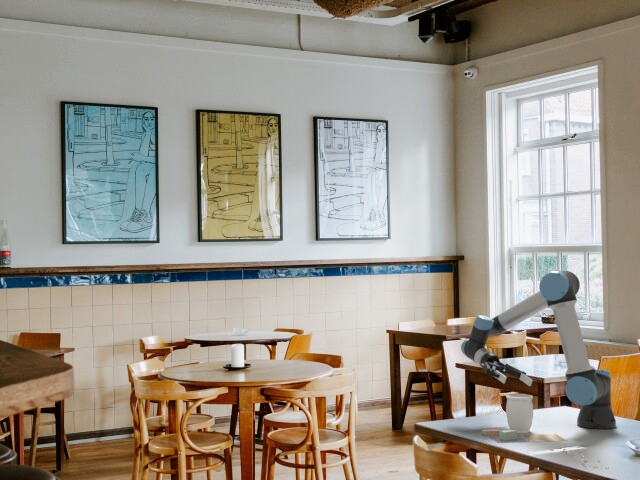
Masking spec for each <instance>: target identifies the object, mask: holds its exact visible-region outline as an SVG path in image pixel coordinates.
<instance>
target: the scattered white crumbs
mask: <svg viewBox="0 0 640 480" xmlns="http://www.w3.org/2000/svg"><path fill="white" fill-rule="evenodd" d="M578 451H580V457H581V458H583V459H582V460H583V461H582V460H581V461H579V463H580V465H582V466H584V467H585V468H587V467H591V465H590V464H588V465H587V464H585V463H589V461H587V458H588V457H589V455H587V454H586V453H585V454H582V450H581V449H579V450H578ZM563 453H565V454H567V455H568V454H569V455H570V456H571V457H573V456H574V457H575V458H576V457H577V455H575V454H574V453H573V451H569V450H566V449H565V448H563ZM571 453H573V454H571ZM575 453H577V451H576V450H575ZM586 457H587V458H586ZM594 462H595V461H593V463H594ZM597 463H601V460H600V459H597ZM601 466H602V464H601V465H599V466H596V465H594V464H592V467H593V468H596V469H599V467H600V469H602V467H604V466H602V467H601ZM604 469H605V470H609V469H610V467H609V466H608V467H607V466H605V468H604Z"/></svg>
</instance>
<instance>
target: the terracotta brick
mask: <svg viewBox="0 0 640 480" xmlns="http://www.w3.org/2000/svg"><path fill="white" fill-rule="evenodd" d="M481 430H482V432H481V433H482V435H483V436H499V431H501V430H500V429H497V428H496V429H495V428H493V429H492V428H491V429H481Z"/></svg>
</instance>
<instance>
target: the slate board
mask: <svg viewBox="0 0 640 480" xmlns="http://www.w3.org/2000/svg"><path fill="white" fill-rule="evenodd" d="M488 437H489V438H490V439H491V440H493V441H495V443H497V444H504V443H505V444H507V443H512V444H513V443H529V442H530V441H529V440H527V439H526V438H524V437H522V436H521V435H519V434H517V439H513V440H501V439H499V435H488Z"/></svg>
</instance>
